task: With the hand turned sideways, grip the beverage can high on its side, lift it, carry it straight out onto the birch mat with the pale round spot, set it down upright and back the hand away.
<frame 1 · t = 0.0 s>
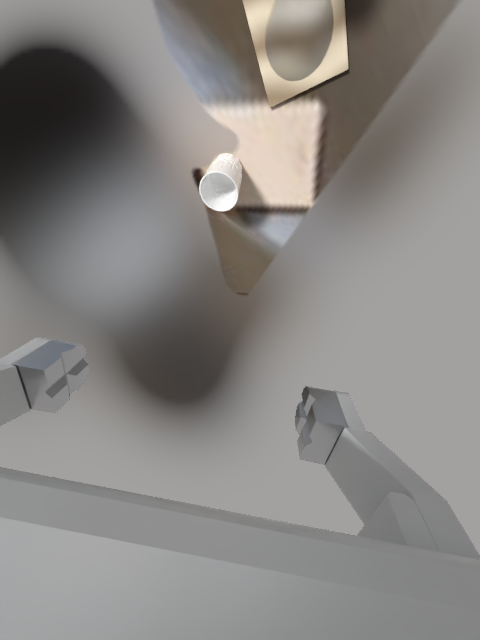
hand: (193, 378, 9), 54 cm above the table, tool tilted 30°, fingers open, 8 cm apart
birch mat: (298, 35, 37), on the table
white cup: (228, 169, 54), on the table
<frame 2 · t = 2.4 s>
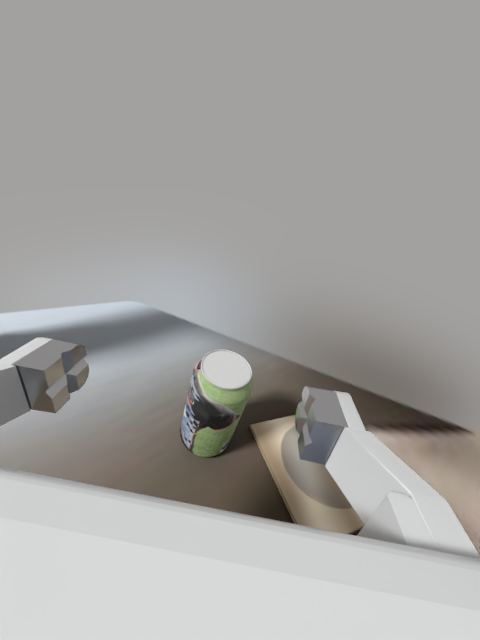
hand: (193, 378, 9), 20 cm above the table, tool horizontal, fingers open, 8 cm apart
birch mat: (321, 462, 29), on the table
beverage can: (208, 442, 29), on the table
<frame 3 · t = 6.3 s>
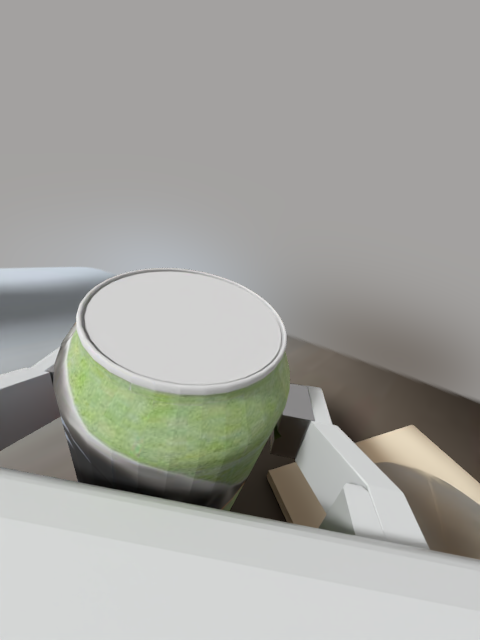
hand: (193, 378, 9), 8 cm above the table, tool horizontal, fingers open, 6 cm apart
birch mat: (445, 571, 12), on the table
beverage can: (171, 520, 12), on the table, touching gripper
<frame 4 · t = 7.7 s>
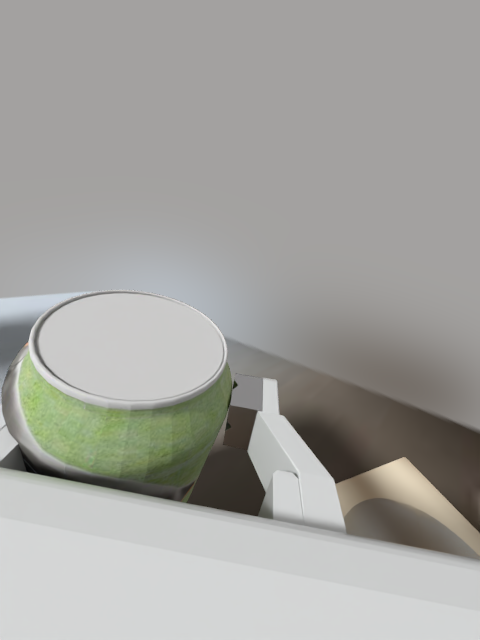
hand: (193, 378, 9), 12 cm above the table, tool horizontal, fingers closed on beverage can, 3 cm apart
birch mat: (428, 607, 13), on the table
beverage can: (122, 536, 12), point 3 cm above the table, touching gripper
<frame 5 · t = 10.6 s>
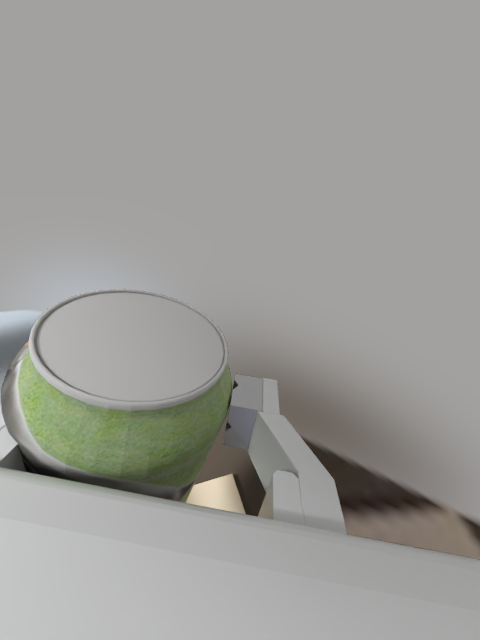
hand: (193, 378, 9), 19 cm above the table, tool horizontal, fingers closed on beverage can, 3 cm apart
birch mat: (173, 598, 17), on the table
beverage can: (121, 535, 12), point 10 cm above the table, touching gripper
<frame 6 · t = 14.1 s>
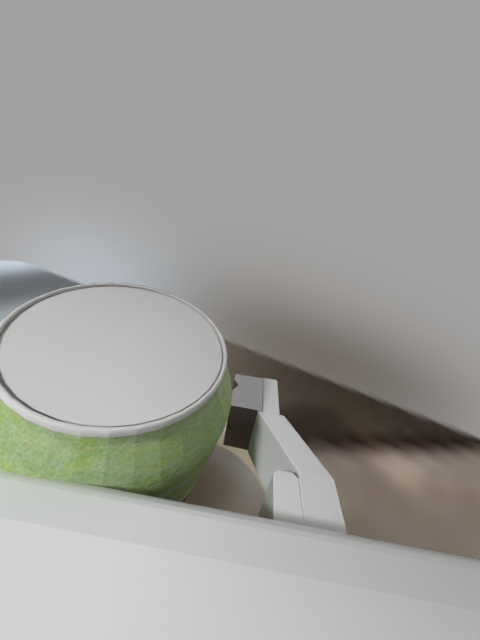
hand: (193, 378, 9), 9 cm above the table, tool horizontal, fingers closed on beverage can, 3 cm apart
birch mat: (176, 531, 12), on the table
beverage can: (119, 532, 12), point 1 cm above the table, touching birch mat, gripper
when the fingers open (9 cm above the table, at t = 14.4 s): beverage can stays where it is, resting on birch mat.
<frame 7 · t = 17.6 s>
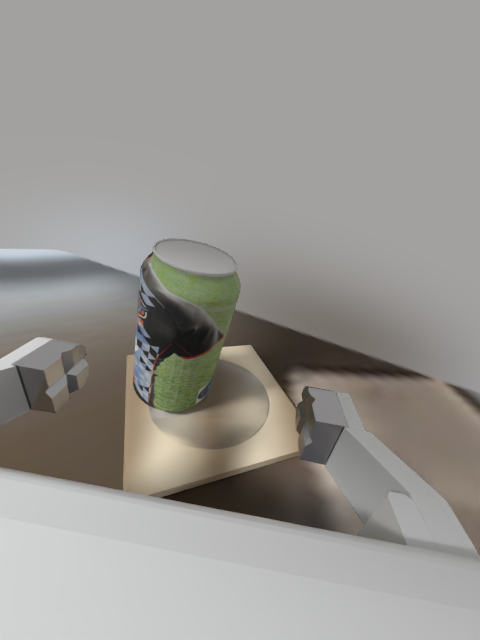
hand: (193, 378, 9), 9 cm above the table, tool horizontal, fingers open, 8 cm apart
birch mat: (210, 399, 21), on the table
beverage can: (178, 395, 20), resting on birch mat
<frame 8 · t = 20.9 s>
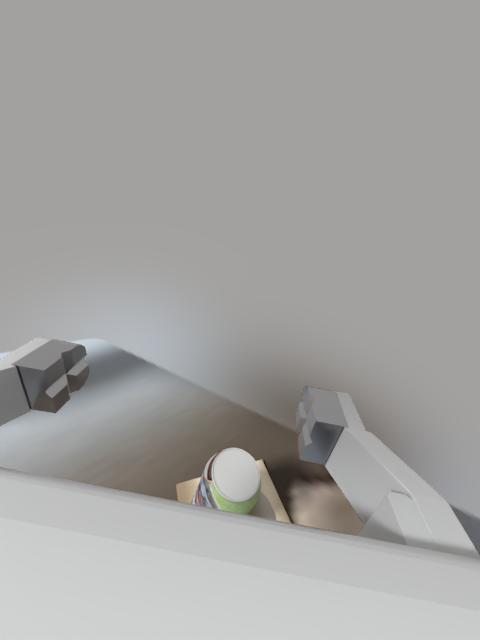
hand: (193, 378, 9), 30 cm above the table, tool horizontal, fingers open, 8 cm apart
birch mat: (237, 524, 30), on the table
beverage can: (216, 525, 30), resting on birch mat
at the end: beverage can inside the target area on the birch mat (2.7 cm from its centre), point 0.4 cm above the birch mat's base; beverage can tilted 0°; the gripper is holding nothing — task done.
